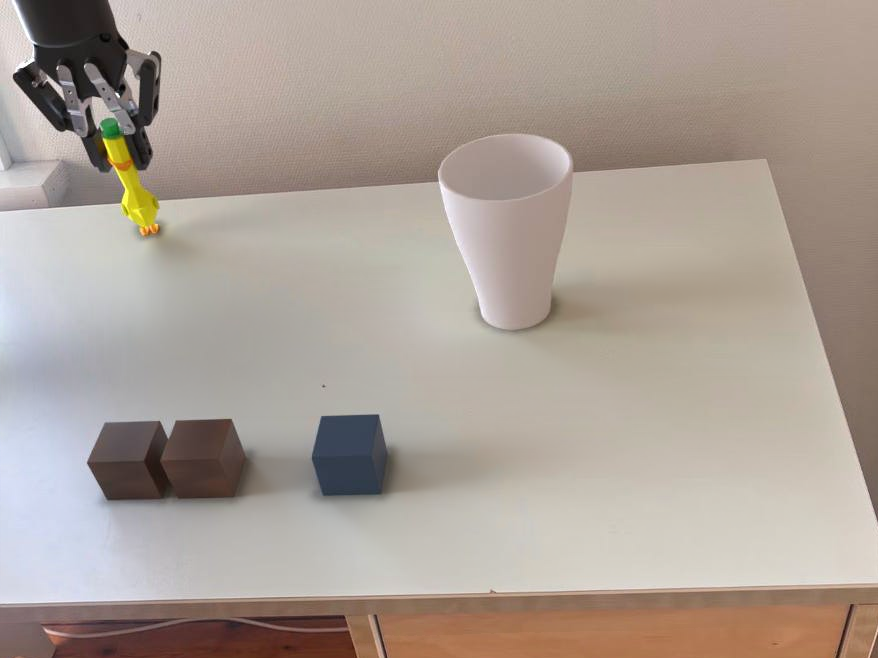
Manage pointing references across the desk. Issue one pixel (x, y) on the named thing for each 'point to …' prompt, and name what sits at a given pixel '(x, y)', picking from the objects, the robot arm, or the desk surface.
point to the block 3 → (350, 455)
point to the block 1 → (130, 460)
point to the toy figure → (129, 178)
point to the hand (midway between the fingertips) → (125, 167)
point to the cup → (509, 221)
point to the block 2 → (204, 458)
